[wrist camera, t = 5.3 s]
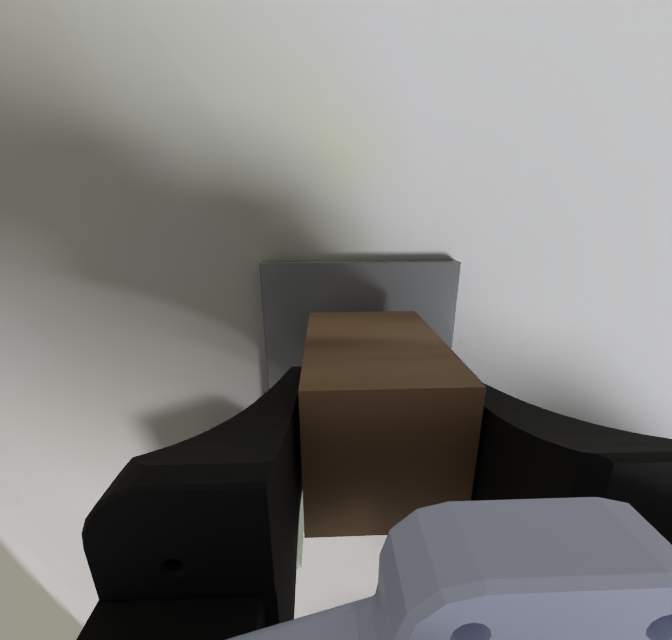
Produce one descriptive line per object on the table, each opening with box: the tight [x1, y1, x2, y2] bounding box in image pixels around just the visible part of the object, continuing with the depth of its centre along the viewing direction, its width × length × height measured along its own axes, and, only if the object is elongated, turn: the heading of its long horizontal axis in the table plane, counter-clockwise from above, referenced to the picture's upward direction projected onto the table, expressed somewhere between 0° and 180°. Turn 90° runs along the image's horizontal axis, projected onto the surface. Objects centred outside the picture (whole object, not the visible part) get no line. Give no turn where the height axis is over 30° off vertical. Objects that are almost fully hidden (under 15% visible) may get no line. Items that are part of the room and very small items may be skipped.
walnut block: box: [298, 311, 486, 538], centre depth 11 cm, size 4×4×6 cm
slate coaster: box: [260, 260, 461, 389], centre depth 15 cm, size 8×8×1 cm
